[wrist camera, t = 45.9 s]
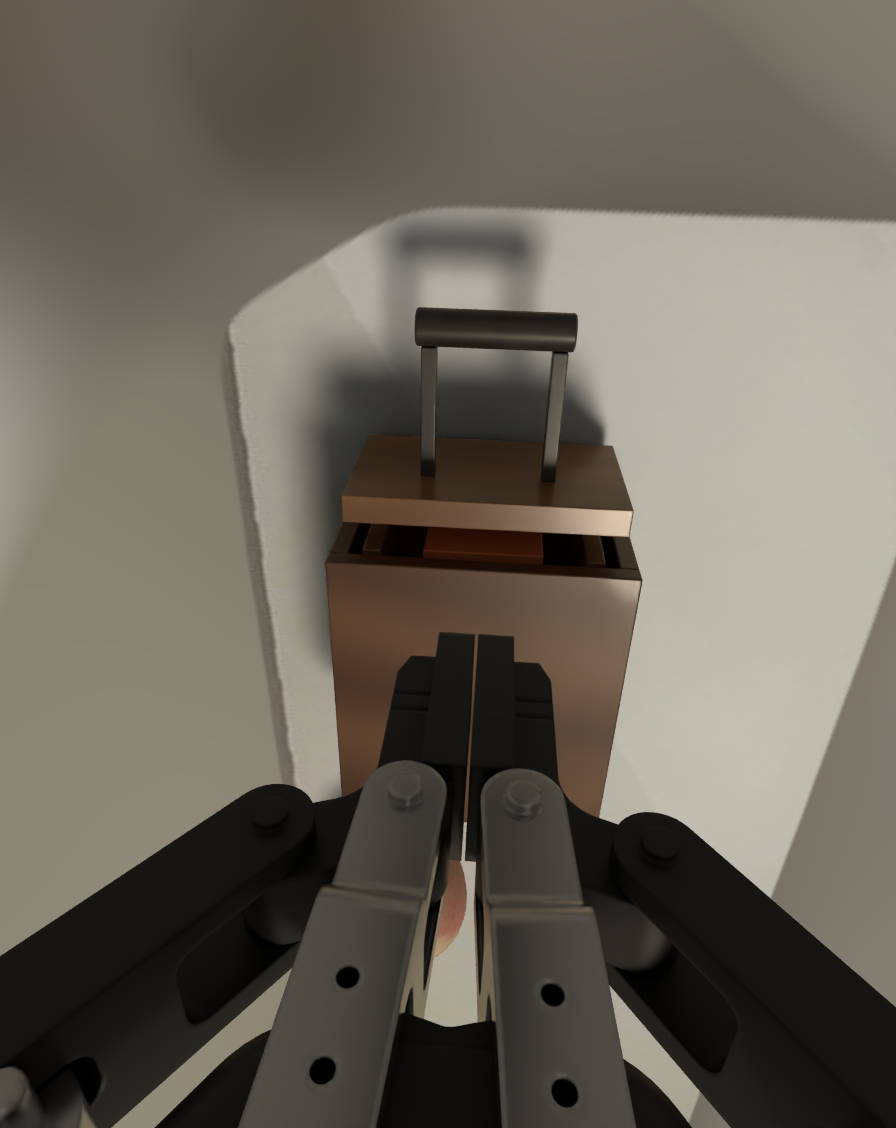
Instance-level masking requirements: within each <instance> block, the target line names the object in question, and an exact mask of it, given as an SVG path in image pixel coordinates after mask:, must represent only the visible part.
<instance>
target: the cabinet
mask: <svg viewBox="0 0 896 1128" xmlns="http://www.w3.org/2000/svg"><path fill="white" fill-rule="evenodd" d="M370 526H371V523H354V522H342V525H341V527H340V529H339V532H338V534H337V536H336V539H335V541H334V543H333V546H332V548H331V550H330V553H329V555H328V557H327V560H326V562H325V565H326V579H327V593H328V607H329V621H330V635H331V649H332V663H333V677H334V691H335V705H336V719H337V733H338V747H339V761H340V775H341V789H342V797H343V796H346V795H349V794H351V793H353V792H355V791H357V790H359V789H360V788H361V787H363V786H364V784H365V782H366V780H367V779H368V777H369V776H370V775H371V774H372V773H373V772H374V771H375V770H377V767H378V763H379V759H380V754H381V749H382V744H383V739H384V734H385V730H386V725H387V720H388V715H389V710H390V707H391V701H392V696H393V694H394V686H395V682H396V677H397V672H398V670H399V669H400V668H401V667H402V666H403V665H404V663H405V662H406V661H407V660H408V659H409V658H410V657H411V655H414V656H430V657H436V651H437V644H438V637H439V632H450V633H467V634H475V647H474V666H473V686H472V705H471V722H470V737H469V752H468V766H467V781H466V796H465V811H464V822H467V813H468V793H469V774H470V757H471V741H472V725H473V709H474V694H475V678H476V662H477V646H478V634H485V635H502V636H514V662H528V663H540V665H541V666H542V668H543V669H544V671H545V672H546V674H547V675H548V677H549V678H550V680H551V684H552V697H553V711H554V724H555V738H556V751H557V765H558V777H559V783H560V785H561V788H562V790H563V791H564V793H565V795H566V796H567V797H568V798H569V800H570V801H571V802H572V803H574V804H575V805H576V806H577V807H579V808H580V809H581V810H583V811H585V812H586V813H588V814H590V815H593V816H595V817H598V818H599V815H600V809H601V804H602V798H603V793H604V788H605V782H606V777H607V771H608V766H609V760H610V755H611V749H612V744H613V738H614V733H615V728H616V722H617V717H618V711H619V706H620V700H621V695H622V689H623V684H624V679H625V673H626V668H627V662H628V657H629V651H630V646H631V640H632V635H633V629H634V624H635V619H636V613H637V608H638V602H639V597H640V591H641V586H642V577H641V574H640V571H639V567H638V564H637V561H636V557H635V554H634V550H633V547H632V544H631V540H630V537H614V536H600V538H601V543H602V547H603V552H604V556H605V561H606V568H592V567H574V566H557V565H539V564H521V563H503V562H485V561H467V560H449V559H432V558H414V557H396V556H378V555H362V549H363V546H364V543H365V540H366V538H367V535H368V532H369V529H370Z"/></svg>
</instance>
